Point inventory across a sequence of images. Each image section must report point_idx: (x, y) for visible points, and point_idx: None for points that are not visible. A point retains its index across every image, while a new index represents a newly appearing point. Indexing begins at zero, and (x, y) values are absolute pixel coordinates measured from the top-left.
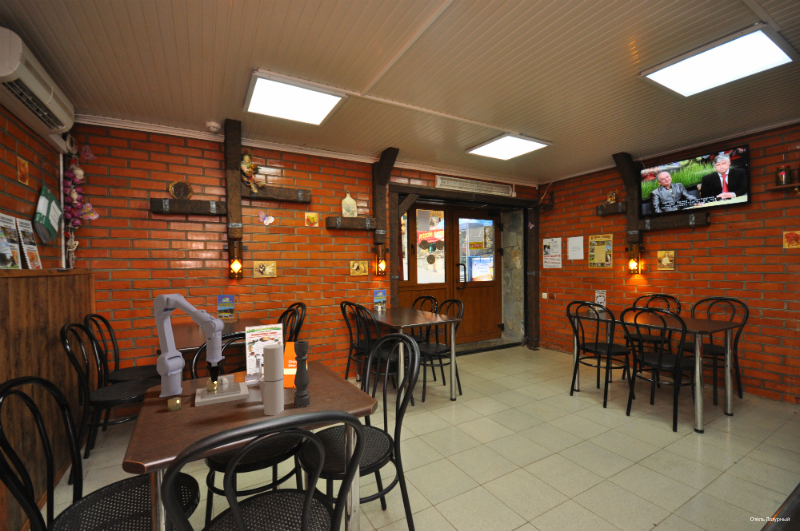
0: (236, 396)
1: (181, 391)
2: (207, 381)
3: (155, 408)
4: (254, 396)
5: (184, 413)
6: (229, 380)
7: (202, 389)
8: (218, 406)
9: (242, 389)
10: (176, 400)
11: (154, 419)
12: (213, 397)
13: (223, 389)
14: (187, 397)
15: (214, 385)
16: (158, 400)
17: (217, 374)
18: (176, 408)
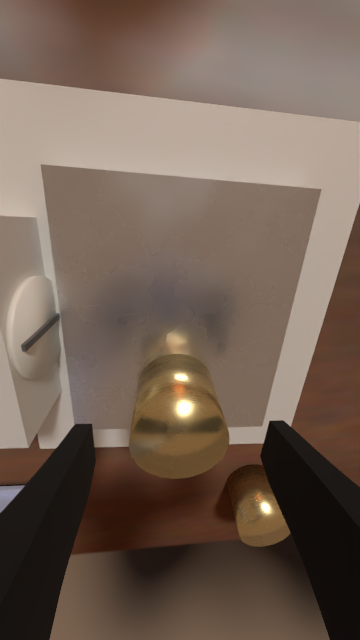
0: (345, 236)
1: (7, 490)
2: (189, 473)
3: (190, 527)
4: (353, 83)
5: (324, 450)
6: (18, 266)
7: (64, 422)
8: (352, 336)
9: (228, 163)
10: None
11: None
12: None
13: (214, 322)
14: (107, 457)
15: (219, 403)
16: (91, 534)
17: (349, 493)
18: None
